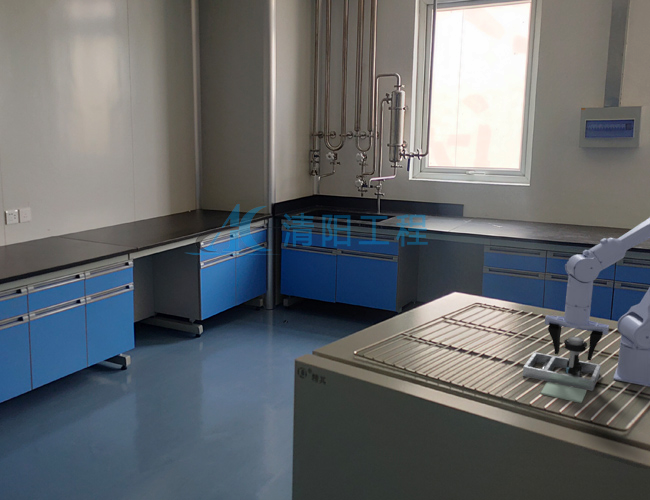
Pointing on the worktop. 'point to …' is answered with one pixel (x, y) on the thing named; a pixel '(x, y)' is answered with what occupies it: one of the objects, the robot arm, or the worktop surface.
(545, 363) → the rod
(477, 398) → the worktop surface
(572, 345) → the push button
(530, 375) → the grey divided frame
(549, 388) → the mat
